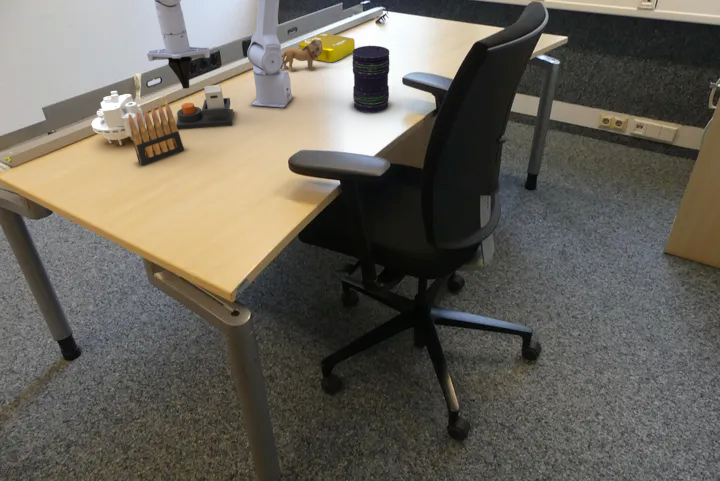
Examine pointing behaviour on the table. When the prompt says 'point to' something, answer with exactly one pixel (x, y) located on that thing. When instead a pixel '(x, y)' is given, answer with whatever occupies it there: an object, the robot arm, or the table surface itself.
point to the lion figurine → (303, 54)
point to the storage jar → (371, 78)
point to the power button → (188, 108)
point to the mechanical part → (116, 117)
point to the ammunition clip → (155, 136)
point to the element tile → (332, 46)
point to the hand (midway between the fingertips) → (186, 87)
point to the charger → (214, 97)
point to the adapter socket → (216, 111)
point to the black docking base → (202, 119)
